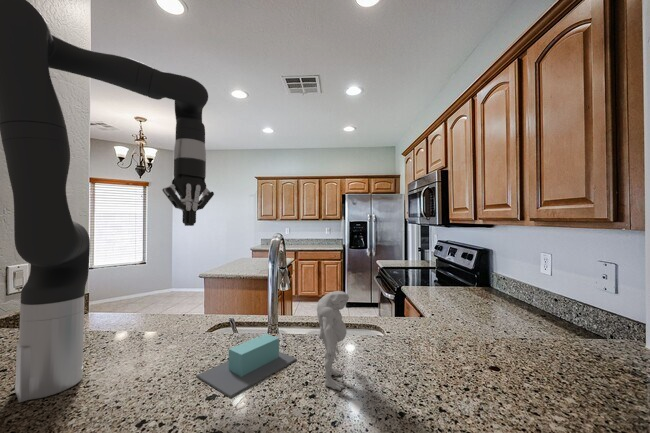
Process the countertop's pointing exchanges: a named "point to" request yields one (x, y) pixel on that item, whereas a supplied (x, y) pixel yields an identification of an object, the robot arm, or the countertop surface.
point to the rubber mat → (235, 383)
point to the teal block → (253, 354)
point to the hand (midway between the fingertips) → (189, 225)
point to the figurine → (332, 331)
